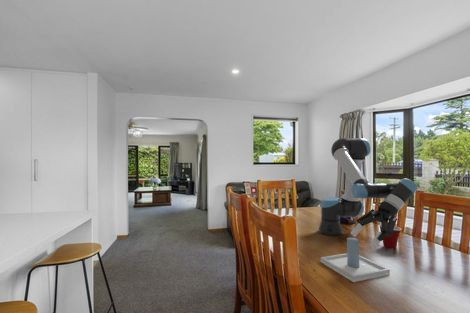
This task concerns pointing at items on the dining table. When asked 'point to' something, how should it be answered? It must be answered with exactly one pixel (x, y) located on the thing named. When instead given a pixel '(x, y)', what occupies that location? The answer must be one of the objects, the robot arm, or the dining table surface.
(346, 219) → the decorative bottle
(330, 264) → the tray
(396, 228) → the plastic cup
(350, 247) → the dowel pin
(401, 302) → the dining table surface
